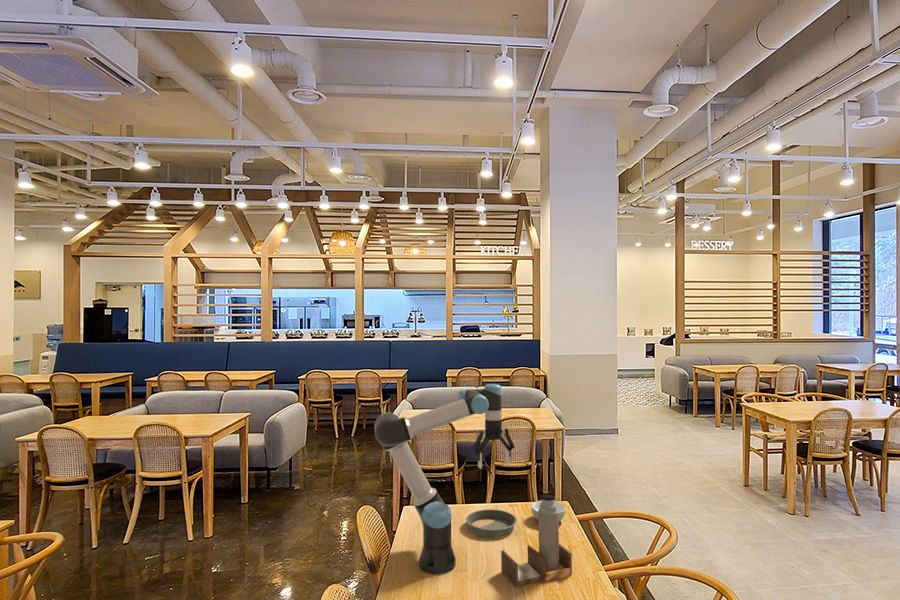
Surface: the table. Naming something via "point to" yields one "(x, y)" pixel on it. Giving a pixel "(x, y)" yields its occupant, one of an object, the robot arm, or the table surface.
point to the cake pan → (496, 529)
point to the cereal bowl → (560, 509)
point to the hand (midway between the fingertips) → (493, 466)
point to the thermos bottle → (549, 532)
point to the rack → (535, 567)
